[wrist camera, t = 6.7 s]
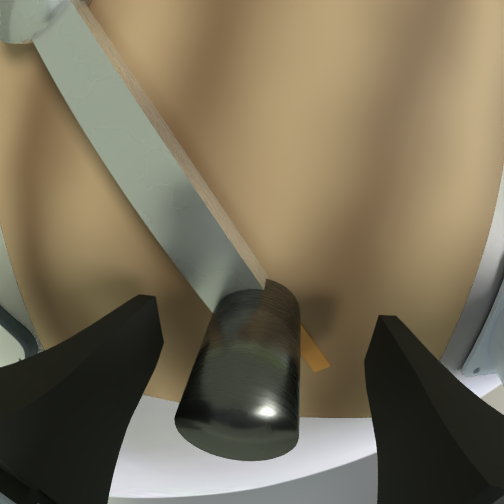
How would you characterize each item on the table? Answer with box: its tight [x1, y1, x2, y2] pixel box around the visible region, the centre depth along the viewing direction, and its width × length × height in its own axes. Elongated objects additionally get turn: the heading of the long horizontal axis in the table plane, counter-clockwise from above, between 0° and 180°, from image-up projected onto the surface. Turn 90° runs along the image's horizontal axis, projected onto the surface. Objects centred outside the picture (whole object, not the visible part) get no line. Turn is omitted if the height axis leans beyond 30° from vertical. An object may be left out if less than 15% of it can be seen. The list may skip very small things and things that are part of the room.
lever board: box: [0, 0, 504, 418], centre depth 11 cm, size 22×22×2 cm
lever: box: [0, 0, 301, 461], centre depth 7 cm, size 19×4×6 cm, turn 32°
